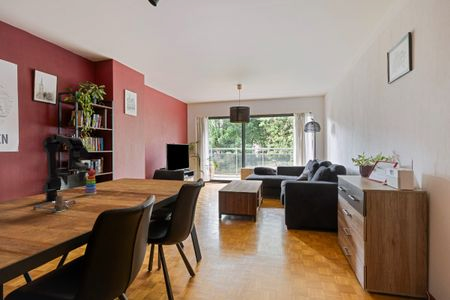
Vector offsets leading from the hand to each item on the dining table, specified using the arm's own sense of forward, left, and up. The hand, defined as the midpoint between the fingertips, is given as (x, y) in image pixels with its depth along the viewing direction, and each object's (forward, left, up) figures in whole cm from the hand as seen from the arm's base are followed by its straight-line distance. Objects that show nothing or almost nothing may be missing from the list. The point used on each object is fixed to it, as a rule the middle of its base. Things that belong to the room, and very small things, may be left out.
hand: (73, 183), depth 145 cm
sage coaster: (+6, -13, -13) cm, 19 cm away
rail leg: (-6, -7, -13) cm, 16 cm away
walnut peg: (+6, -13, -13) cm, 19 cm away
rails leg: (-1, -13, -13) cm, 18 cm away
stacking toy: (-18, +26, -13) cm, 34 cm away
